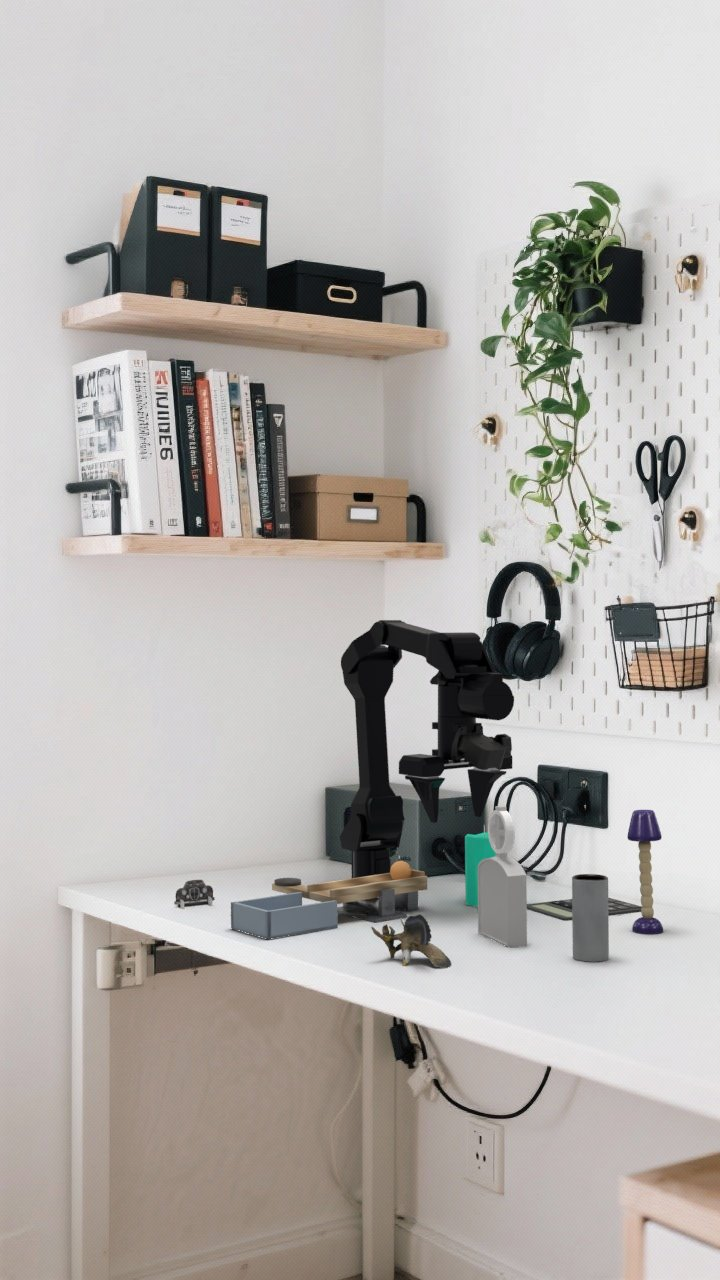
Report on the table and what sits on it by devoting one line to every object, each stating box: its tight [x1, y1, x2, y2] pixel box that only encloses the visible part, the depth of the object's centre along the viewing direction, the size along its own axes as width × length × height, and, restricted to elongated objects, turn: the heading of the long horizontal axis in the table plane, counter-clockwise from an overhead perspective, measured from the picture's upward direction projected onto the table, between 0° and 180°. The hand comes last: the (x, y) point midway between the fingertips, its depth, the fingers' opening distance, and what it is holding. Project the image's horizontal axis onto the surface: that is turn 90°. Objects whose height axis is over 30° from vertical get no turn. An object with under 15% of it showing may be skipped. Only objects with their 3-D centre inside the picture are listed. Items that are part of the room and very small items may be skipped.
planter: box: [571, 873, 610, 963], centre depth 175 cm, size 4×4×10 cm
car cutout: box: [173, 879, 216, 910], centre depth 213 cm, size 15×7×4 cm, turn 119°
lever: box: [271, 868, 428, 905], centre depth 207 cm, size 18×15×3 cm
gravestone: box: [477, 805, 528, 948], centre depth 186 cm, size 3×9×18 cm, turn 20°
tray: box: [230, 892, 338, 940], centre depth 194 cm, size 9×12×4 cm
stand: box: [337, 889, 419, 923], centre depth 205 cm, size 11×10×4 cm
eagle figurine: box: [371, 913, 452, 969], centre depth 173 cm, size 8×7×9 cm
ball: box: [390, 860, 412, 880], centre depth 208 cm, size 3×3×3 cm
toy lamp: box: [627, 809, 664, 935], centre depth 191 cm, size 5×5×17 cm
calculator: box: [527, 897, 642, 922], centre depth 206 cm, size 12×1×15 cm
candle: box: [464, 824, 496, 907], centre depth 212 cm, size 6×6×12 cm
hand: (456, 819), depth 207 cm, fingers open, 9 cm apart
